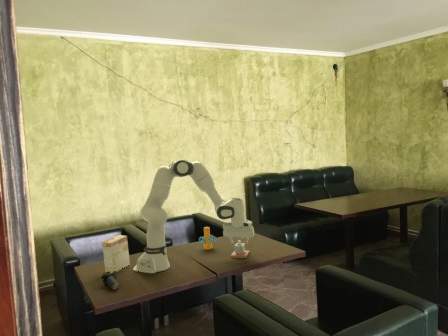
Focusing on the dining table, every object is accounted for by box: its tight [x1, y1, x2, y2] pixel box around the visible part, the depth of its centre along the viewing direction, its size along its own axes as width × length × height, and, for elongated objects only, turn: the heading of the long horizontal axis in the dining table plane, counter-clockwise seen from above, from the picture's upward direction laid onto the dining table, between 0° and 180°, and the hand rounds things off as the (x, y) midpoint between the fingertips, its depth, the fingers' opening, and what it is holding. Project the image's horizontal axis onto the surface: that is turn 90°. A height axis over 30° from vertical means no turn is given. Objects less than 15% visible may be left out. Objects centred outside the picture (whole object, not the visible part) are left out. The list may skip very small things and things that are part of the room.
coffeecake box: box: [101, 234, 131, 273], centre depth 230 cm, size 15×7×20 cm, turn 152°
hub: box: [233, 242, 246, 253], centre depth 239 cm, size 6×6×5 cm
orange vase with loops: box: [198, 226, 217, 251], centre depth 258 cm, size 12×10×15 cm
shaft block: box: [230, 240, 250, 259], centre depth 239 cm, size 10×10×10 cm
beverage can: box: [100, 271, 120, 290], centre depth 204 cm, size 9×8×12 cm
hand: (239, 243), depth 239 cm, fingers open, 8 cm apart
